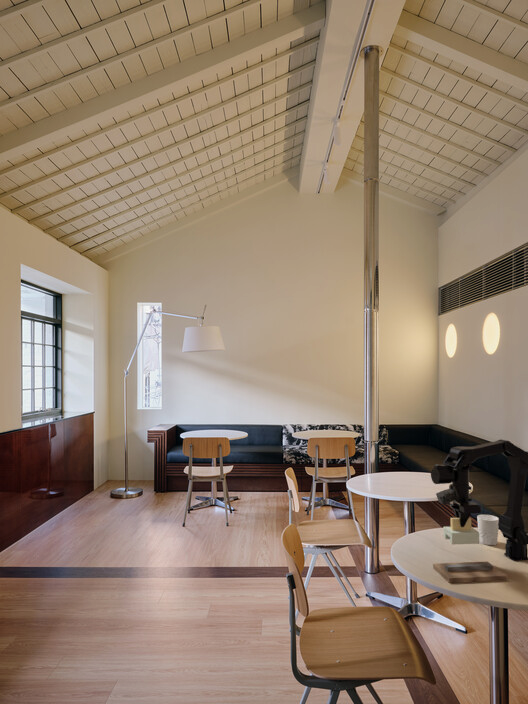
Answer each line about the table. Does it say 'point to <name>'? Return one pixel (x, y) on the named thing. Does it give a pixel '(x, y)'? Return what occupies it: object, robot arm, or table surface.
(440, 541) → the table surface
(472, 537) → the sage block
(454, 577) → the board
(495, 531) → the white cup
